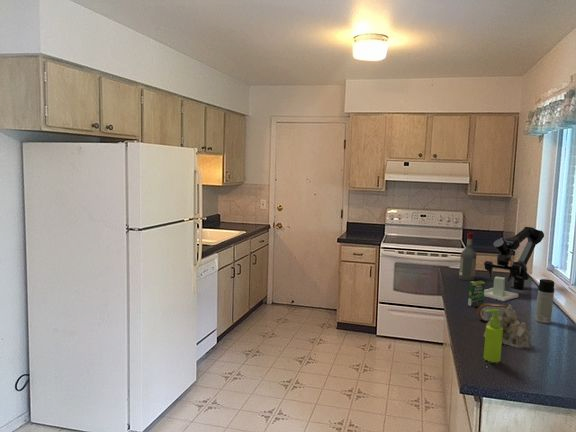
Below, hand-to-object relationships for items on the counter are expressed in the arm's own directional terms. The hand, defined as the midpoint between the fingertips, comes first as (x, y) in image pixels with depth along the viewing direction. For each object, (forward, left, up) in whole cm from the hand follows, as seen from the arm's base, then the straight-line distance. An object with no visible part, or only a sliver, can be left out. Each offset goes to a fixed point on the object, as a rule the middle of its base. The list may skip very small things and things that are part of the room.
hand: (499, 279), depth 273 cm
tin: (+44, +23, -10) cm, 50 cm away
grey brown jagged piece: (+63, +40, -10) cm, 76 cm away
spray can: (+23, +36, -10) cm, 43 cm away
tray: (0, 0, -9) cm, 10 cm away
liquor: (-20, -33, -10) cm, 40 cm away
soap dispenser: (+89, +48, -10) cm, 101 cm away
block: (0, 0, -9) cm, 9 cm away
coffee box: (+29, +4, -10) cm, 31 cm away
